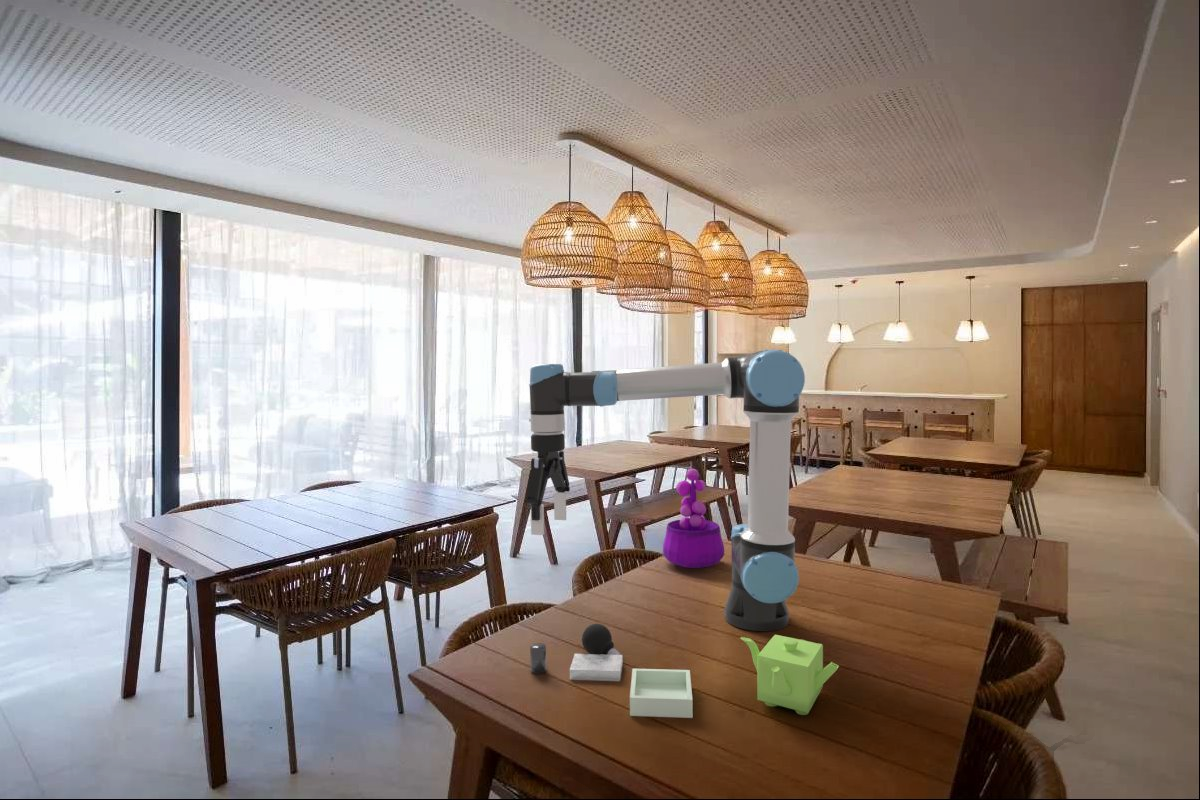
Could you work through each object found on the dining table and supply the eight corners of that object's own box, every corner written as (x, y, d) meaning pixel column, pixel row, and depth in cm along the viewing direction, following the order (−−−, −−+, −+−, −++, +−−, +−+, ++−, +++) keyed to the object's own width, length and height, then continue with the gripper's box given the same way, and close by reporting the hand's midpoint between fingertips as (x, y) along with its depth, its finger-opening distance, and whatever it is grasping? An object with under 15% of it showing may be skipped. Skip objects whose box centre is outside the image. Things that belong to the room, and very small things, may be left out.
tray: (689, 686, 124) (689, 670, 124) (692, 717, 113) (692, 699, 113) (632, 685, 125) (632, 668, 125) (630, 715, 114) (629, 697, 114)
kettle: (773, 728, 110) (773, 663, 109) (735, 688, 123) (734, 631, 123) (850, 714, 113) (850, 652, 113) (804, 677, 127) (804, 621, 127)
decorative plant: (660, 573, 192) (659, 473, 190) (664, 555, 210) (663, 463, 208) (725, 575, 189) (724, 474, 187) (723, 557, 207) (723, 464, 205)
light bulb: (615, 648, 132) (583, 619, 138) (603, 675, 133) (571, 645, 139) (634, 644, 137) (601, 616, 143) (622, 670, 138) (590, 641, 144)
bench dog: (547, 666, 133) (547, 643, 133) (544, 674, 130) (544, 649, 130) (532, 666, 134) (531, 642, 133) (529, 673, 131) (528, 649, 130)
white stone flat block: (622, 666, 134) (622, 655, 134) (620, 683, 127) (619, 671, 127) (574, 665, 135) (574, 653, 135) (569, 681, 128) (569, 669, 128)
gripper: (552, 427, 157) (554, 513, 158) (508, 438, 133) (510, 540, 135) (581, 427, 155) (583, 515, 156) (541, 439, 131) (543, 542, 132)
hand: (549, 527), depth 145 cm, fingers open, 13 cm apart
